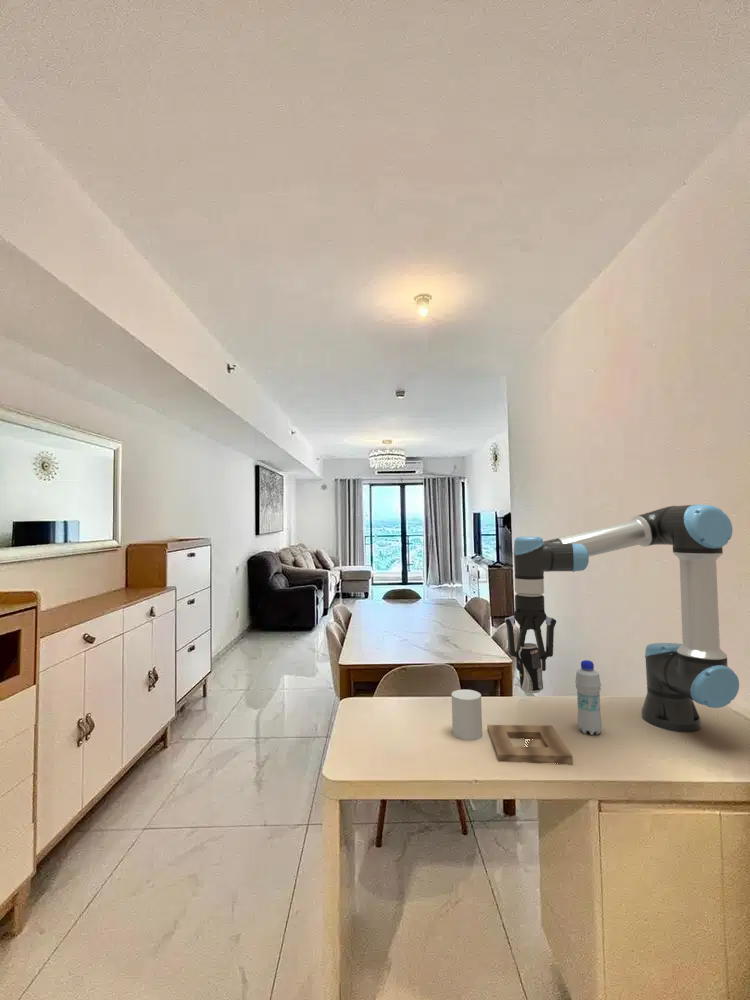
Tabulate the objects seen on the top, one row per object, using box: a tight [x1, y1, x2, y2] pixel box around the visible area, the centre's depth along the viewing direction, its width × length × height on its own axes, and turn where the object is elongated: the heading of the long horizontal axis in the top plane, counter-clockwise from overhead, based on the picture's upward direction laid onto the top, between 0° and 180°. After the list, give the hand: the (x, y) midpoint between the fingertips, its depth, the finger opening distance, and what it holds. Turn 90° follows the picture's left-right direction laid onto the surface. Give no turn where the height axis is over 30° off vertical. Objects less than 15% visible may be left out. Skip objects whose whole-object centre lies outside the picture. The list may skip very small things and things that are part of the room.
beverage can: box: [517, 642, 544, 694], centre depth 130 cm, size 6×6×12 cm
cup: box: [451, 689, 483, 741], centre depth 138 cm, size 8×8×12 cm
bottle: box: [575, 659, 603, 736], centre depth 140 cm, size 7×7×20 cm
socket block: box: [486, 724, 574, 766], centre depth 130 cm, size 18×18×2 cm
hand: (531, 682), depth 131 cm, fingers closed on beverage can, 4 cm apart
